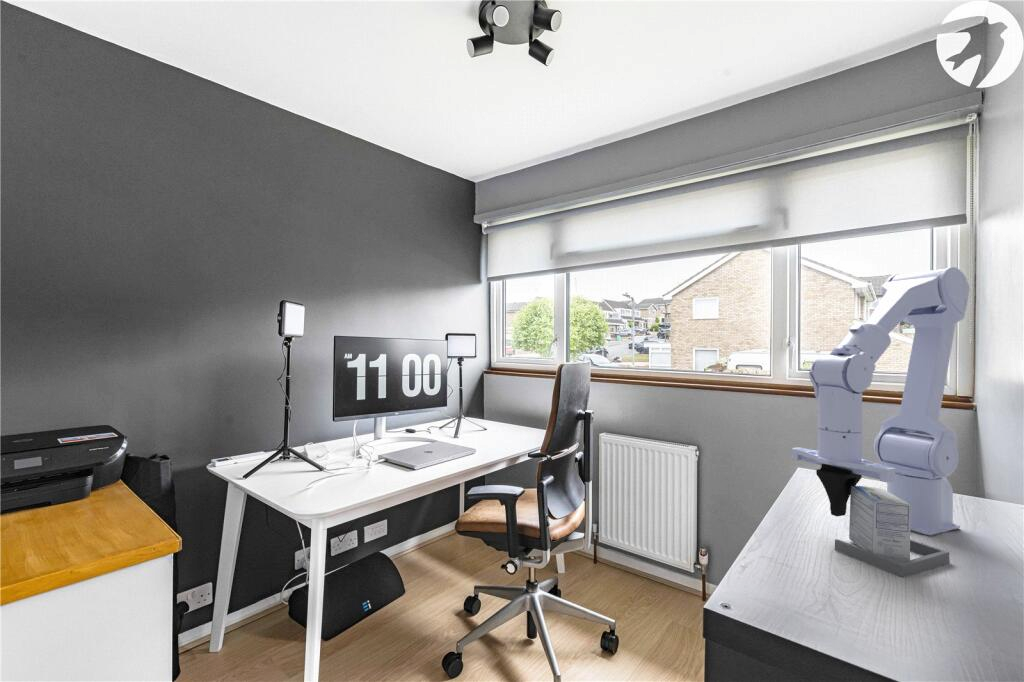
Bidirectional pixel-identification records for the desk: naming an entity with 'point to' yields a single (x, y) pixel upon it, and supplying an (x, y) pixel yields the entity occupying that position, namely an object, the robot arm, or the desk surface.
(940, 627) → the desk surface
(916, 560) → the dock
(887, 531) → the medicine box
